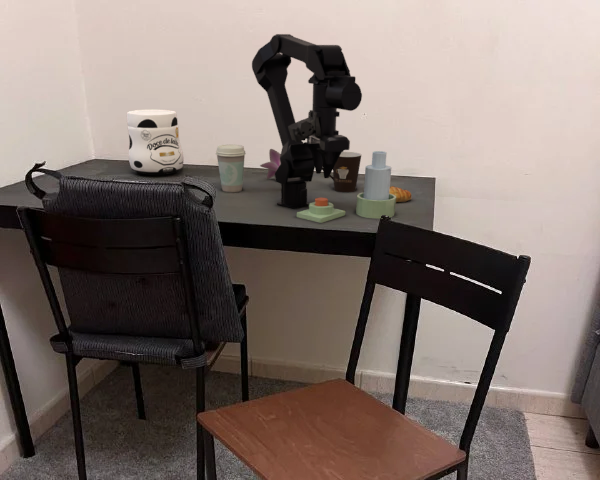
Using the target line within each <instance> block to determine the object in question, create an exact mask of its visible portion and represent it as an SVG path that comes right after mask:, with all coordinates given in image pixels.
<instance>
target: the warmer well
mask: <svg viewBox="0 0 600 480" xmlns="http://www.w3.org/2000/svg"><path fill="white" fill-rule="evenodd" d="M363 197H364V191H363V192H359V193H357V194H356V204H355V205H356V206H355V207H356V208H355V214H356V215H357V216H359V217H362V218H367V219H378V220H379V219H380V218H381V216H382V215H386V216H389V218H392V217H394V216H395V213H396V203H397V202H396V196H395V195H393V194H390V193H389V200H369V199H364V198H363ZM381 219H382V218H381Z"/></svg>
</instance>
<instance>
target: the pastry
mask: <svg viewBox="0 0 600 480" xmlns="http://www.w3.org/2000/svg"><path fill="white" fill-rule="evenodd" d="M389 193H390V194H393V195H395V196H396V203H404V202H405V203H406V202H408V201H411V200H412V193H411V191H409V190H408V189H403V188H402V187H396V186H394V185H392V186H390V190H389Z"/></svg>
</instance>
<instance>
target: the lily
mask: <svg viewBox="0 0 600 480" xmlns="http://www.w3.org/2000/svg"><path fill="white" fill-rule="evenodd" d="M268 154H269V155H268V156H269V161H267V162H264V163H262V164H260V165H259V167H261V168H264V169H267V173H266V179H267V180H269V179H271V178H273V177H275V172H276V171H277V169H278V167H279V166H280V164H281V162H280V155H281V152H279V151H277V150H275V149H274V148H270V149H269V152H268Z"/></svg>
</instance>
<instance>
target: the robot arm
mask: <svg viewBox="0 0 600 480" xmlns="http://www.w3.org/2000/svg"><path fill="white" fill-rule="evenodd" d="M292 59H294V60H297V61H300V62H301V63H304V64H305V67H306V69H307V70H309V71H310V72H311V73H313V74H312V75H311V76H310V78H309V79H308V80H307V83H308V84H312V109H309V111H308V114H307V115H308V116H307V117H306V118H304V119H301V120H298V121H297V122H296V119H295V115H294V111H293V108H292V105H291V102H290V101H291V100H290V97H289V95H288V91H287V88H286V82H287V78H288V74H289V73H288V72H289V71H288V68H289V67H290V65H291V63H292ZM251 69H252V72H253V74H254V77H255V79H256V82H257V84H258V85H259V86H260V87H261V88H262V89H263V90H264V91H265V92H266V94H267V98H268V101H269V104H270V108H271V111H272V115H273V118H274V122H275V124H276V129H277V132H278V136H279V139H280V143H281V146H282V148H281V152H280V154H281V155H280V162H281V164H280V166H279V167H278V169H277V171H276V172H275V176H274V178H275V183H278V184H280V196H281V197H280V201H279V202H277V203H276V204H277V206H280V207H283V208H288V209H293V210H297V209H300V208H303V207H307V206H309V204H310V203H311V202H308V188H307V182H308V183H310V182H313V178H314V177H313V176H314V172H315V173H316V174H317V175H319V174H320V175H321V173H323V178H324V179H329V178H330V177H329V176H330V175H332V173H333V168H334V166H335V164H336V162H337V160H338V158H339V156H340V155H341V153H342V152H345V151H350V147H351V146H350V145H351V140H350V139H349V138H348V137H347V136H345V135H343V134H340V133H339V132H340V131H339V130H338V129H337V118H340V111H338V110H343V111H349V112H352V111H355V110H356V109H358V108H359V106H360V104H361V102H362V98H363V93H362V90H361V87H360V86H359V84H358V83H357V82H356V76H355V75H351V70H350V68H349V66H348V63H347V60H346V58H345V55H344V53H343V48H342V47H341V46H340V45H338V44H316V43H313V42H310V41H306V40H304V39H302V38H298V37H295V36H294V35H292V34H290V33H276V34H274V35H272V37H271V39H270V40H269V41H268V42H267V43H265V44H264V45H263V46H261V47H260V48H259V49H258V51H256V54H255V55H254V57H253V59H252V61H251ZM322 168H323V170H322Z"/></svg>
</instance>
